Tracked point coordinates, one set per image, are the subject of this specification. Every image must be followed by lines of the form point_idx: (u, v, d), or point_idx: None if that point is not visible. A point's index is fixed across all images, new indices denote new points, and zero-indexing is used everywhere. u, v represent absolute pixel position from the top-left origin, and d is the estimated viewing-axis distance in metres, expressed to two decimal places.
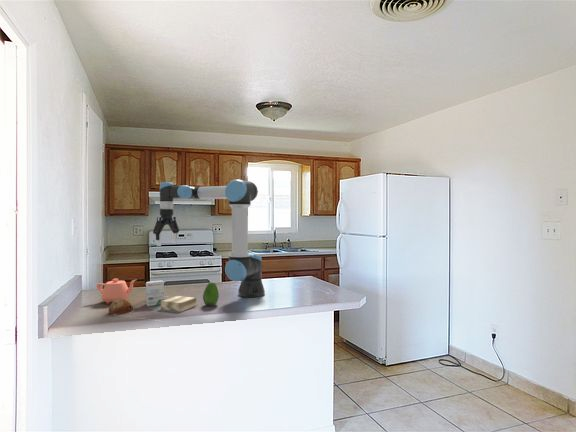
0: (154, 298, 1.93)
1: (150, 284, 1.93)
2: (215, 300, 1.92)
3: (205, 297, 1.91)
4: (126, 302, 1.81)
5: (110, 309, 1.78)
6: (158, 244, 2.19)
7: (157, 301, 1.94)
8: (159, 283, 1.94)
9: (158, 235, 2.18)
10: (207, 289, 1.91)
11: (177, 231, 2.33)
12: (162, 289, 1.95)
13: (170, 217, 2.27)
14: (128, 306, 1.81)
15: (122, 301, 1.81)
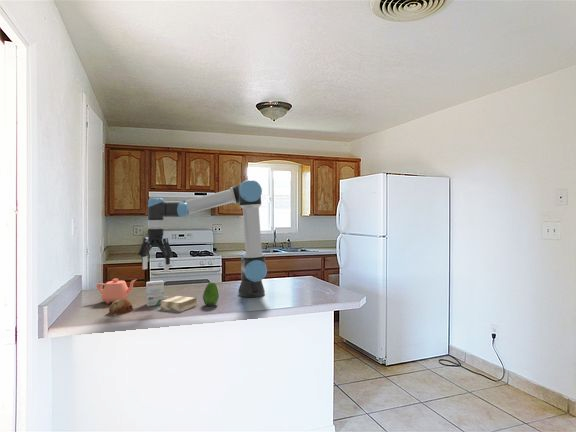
0: (154, 298, 1.93)
1: (150, 284, 1.93)
2: (215, 300, 1.92)
3: (205, 297, 1.91)
4: (126, 302, 1.81)
5: (110, 309, 1.78)
6: None
7: (157, 301, 1.94)
8: (159, 283, 1.94)
9: (142, 257, 1.98)
10: (207, 289, 1.91)
11: (166, 256, 1.91)
12: (162, 289, 1.95)
13: (157, 238, 1.93)
14: (129, 306, 1.81)
15: (123, 301, 1.81)
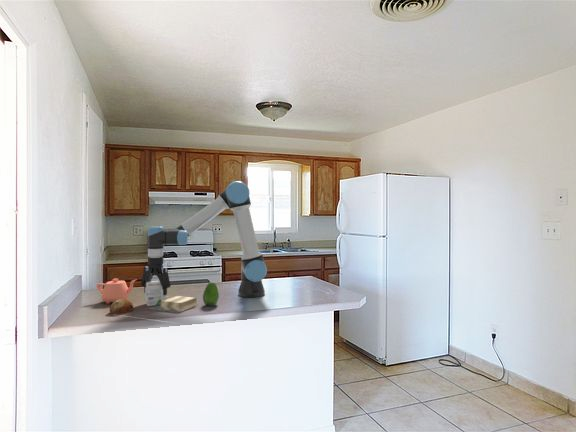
0: (154, 298, 1.93)
1: (150, 284, 1.93)
2: (215, 300, 1.92)
3: (205, 297, 1.91)
4: (127, 302, 1.81)
5: (111, 309, 1.78)
6: None
7: (158, 301, 1.94)
8: (159, 283, 1.94)
9: None
10: (207, 289, 1.91)
11: (163, 287, 1.92)
12: None
13: (157, 267, 1.94)
14: (129, 306, 1.81)
15: (123, 301, 1.81)
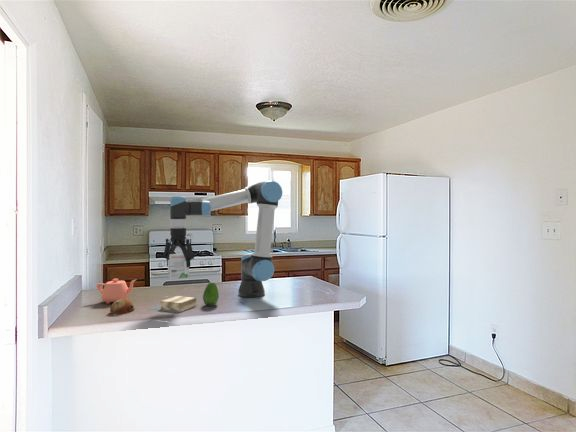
0: (177, 271, 1.87)
1: (174, 256, 1.86)
2: (215, 300, 1.92)
3: (205, 297, 1.91)
4: (127, 302, 1.81)
5: (112, 309, 1.78)
6: None
7: (181, 274, 1.87)
8: (183, 256, 1.88)
9: (167, 260, 1.91)
10: (207, 289, 1.91)
11: (187, 259, 1.85)
12: None
13: (180, 238, 1.87)
14: (130, 306, 1.81)
15: (124, 301, 1.81)
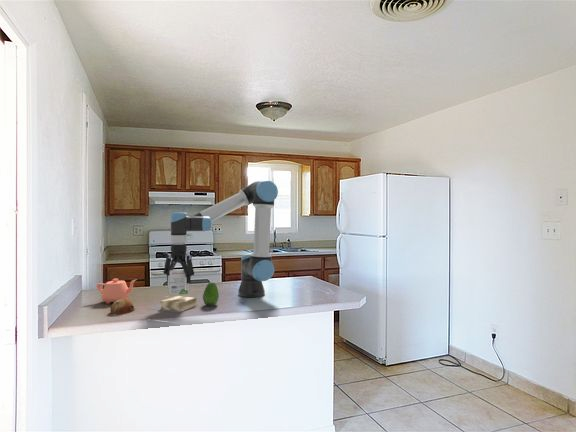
0: (177, 287, 1.87)
1: (174, 272, 1.86)
2: (215, 300, 1.92)
3: (205, 297, 1.91)
4: (127, 302, 1.81)
5: (112, 309, 1.78)
6: None
7: (181, 290, 1.87)
8: (183, 272, 1.87)
9: (167, 276, 1.91)
10: (207, 289, 1.91)
11: (187, 275, 1.85)
12: None
13: (181, 254, 1.87)
14: (130, 306, 1.81)
15: (124, 301, 1.81)
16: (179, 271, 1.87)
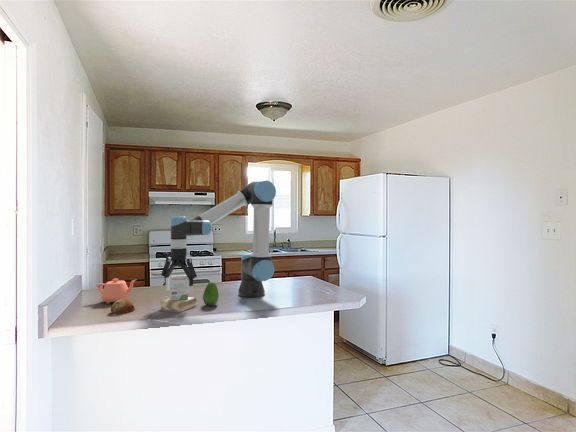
0: (178, 293, 1.87)
1: (174, 278, 1.86)
2: (215, 300, 1.92)
3: (205, 297, 1.91)
4: (128, 302, 1.81)
5: (112, 309, 1.78)
6: None
7: (181, 296, 1.87)
8: (183, 277, 1.88)
9: (165, 278, 1.91)
10: (207, 289, 1.91)
11: (189, 277, 1.85)
12: (186, 284, 1.88)
13: (180, 258, 1.87)
14: (130, 306, 1.81)
15: (125, 301, 1.81)
16: (179, 277, 1.87)
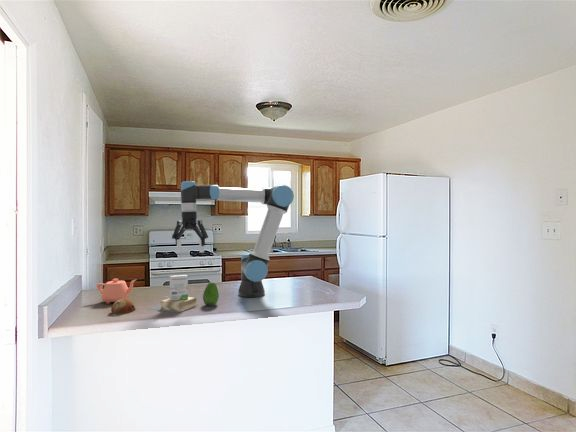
0: (178, 293, 1.87)
1: (174, 278, 1.86)
2: (215, 300, 1.92)
3: (205, 297, 1.91)
4: (128, 302, 1.81)
5: (113, 309, 1.78)
6: None
7: (181, 296, 1.87)
8: (183, 277, 1.88)
9: (176, 240, 2.01)
10: (207, 289, 1.91)
11: (201, 237, 1.95)
12: (186, 284, 1.88)
13: (191, 221, 1.97)
14: (131, 306, 1.81)
15: (125, 300, 1.81)
16: (179, 277, 1.87)
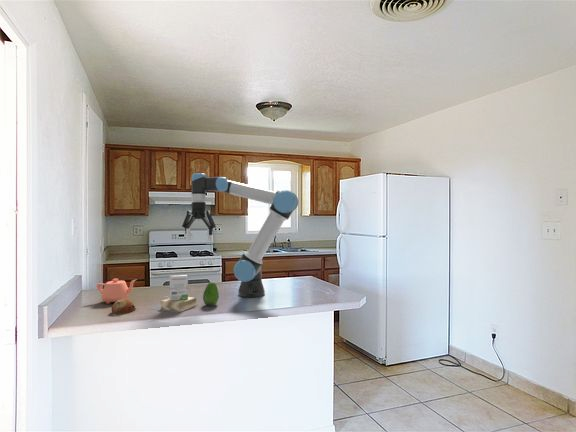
0: (178, 293, 1.87)
1: (174, 278, 1.86)
2: (215, 300, 1.92)
3: (205, 297, 1.91)
4: (129, 302, 1.81)
5: (113, 309, 1.78)
6: None
7: (181, 296, 1.87)
8: (183, 277, 1.88)
9: None
10: (207, 289, 1.91)
11: (209, 227, 2.05)
12: (186, 284, 1.88)
13: (200, 211, 2.07)
14: (131, 306, 1.81)
15: (125, 300, 1.81)
16: (179, 277, 1.87)
